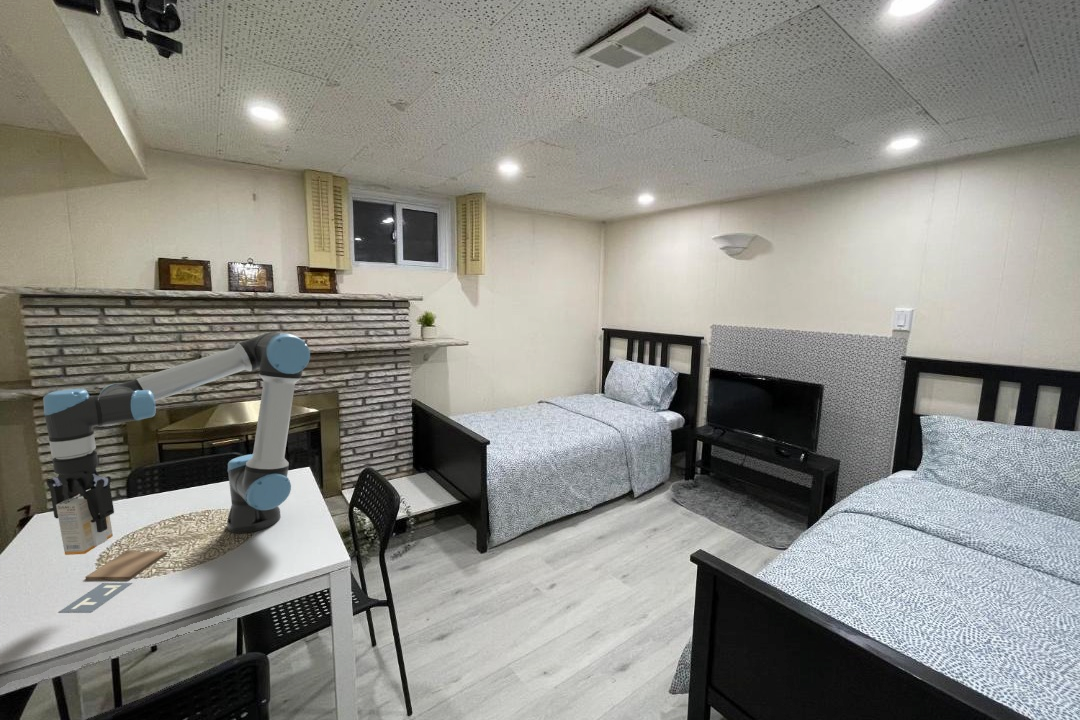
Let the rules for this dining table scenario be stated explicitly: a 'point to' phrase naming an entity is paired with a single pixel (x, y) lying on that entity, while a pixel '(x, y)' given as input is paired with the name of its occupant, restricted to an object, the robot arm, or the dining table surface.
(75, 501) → the supplement box
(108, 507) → the robot arm
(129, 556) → the coaster
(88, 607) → the blue gray tile
